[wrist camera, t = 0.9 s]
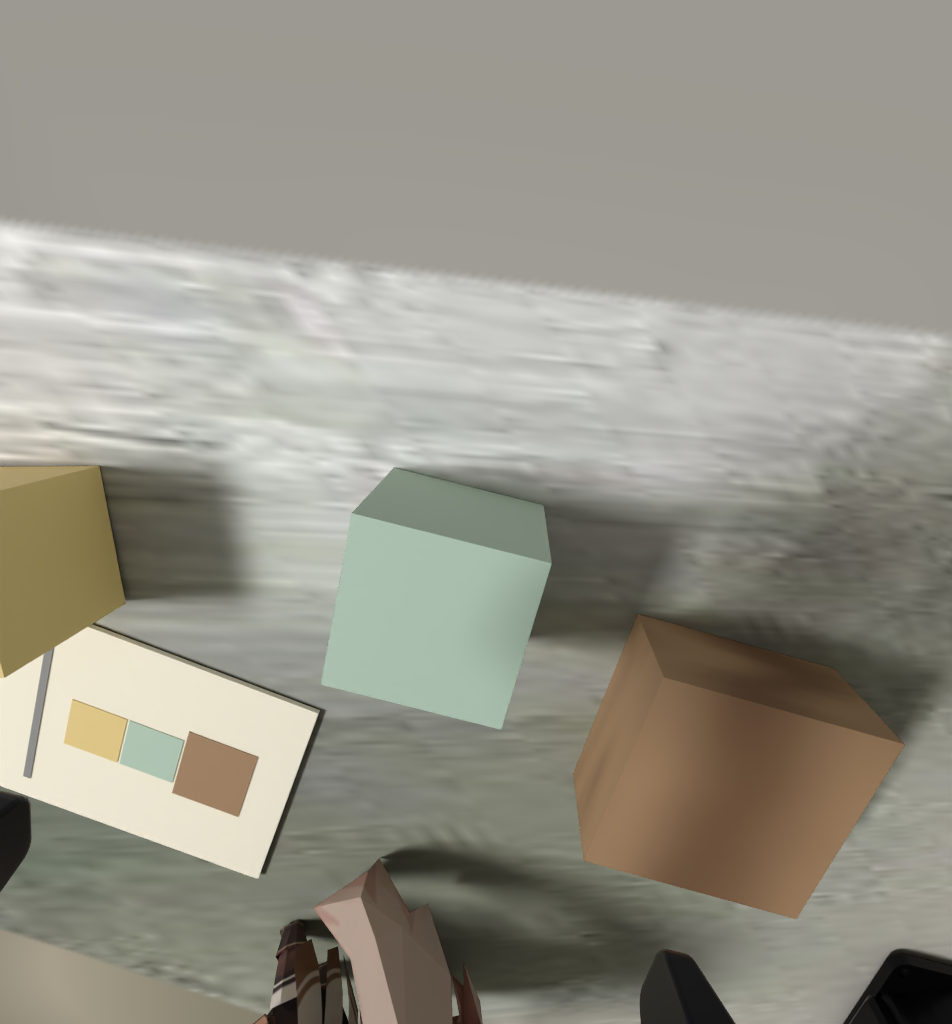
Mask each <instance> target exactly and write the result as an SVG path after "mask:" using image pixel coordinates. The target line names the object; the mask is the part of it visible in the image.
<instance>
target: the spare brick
mask: <svg viewBox="0 0 952 1024" xmlns="http://www.w3.org/2000/svg"><path fill="white" fill-rule="evenodd" d="M124 604H126V603H125V598H124V592H123V587H122V582H121V577H120V571H119V566H118V561H117V556H116V551H115V545H114V540H113V535H112V530H111V524H110V519H109V514H108V509H107V503H106V498H105V493H104V488H103V482H102V477H101V472H100V467H99V466H13V467H0V678H5V677H7V676H9V675H10V674H12V673H13V672H15V671H17V670H18V669H20V668H22V667H23V666H25V665H26V664H28V663H30V662H31V661H33V660H35V659H36V658H38V657H39V656H41V655H43V654H44V653H46V652H48V651H49V650H51V649H52V648H54V647H56V646H57V645H59V644H61V643H62V642H64V641H65V640H67V639H69V638H70V637H72V636H74V635H75V634H77V633H78V632H80V631H82V630H83V629H85V628H87V627H88V626H90V625H91V624H93V623H95V622H96V621H98V620H100V619H101V618H103V617H104V616H106V615H108V614H109V613H111V612H113V611H114V610H116V609H117V608H119V607H121V606H122V605H124Z"/></svg>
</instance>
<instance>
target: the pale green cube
mask: <svg viewBox="0 0 952 1024" xmlns="http://www.w3.org/2000/svg"><path fill="white" fill-rule="evenodd" d="M551 565H552V561H551V554H550V547H549V540H548V533H547V526H546V519H545V512H544V505H540V504H537V503H533V502H529V501H525V500H521V499H517V498H513V497H509V496H505V495H501V494H497V493H493V492H489V491H485V490H481V489H477V488H473V487H469V486H465V485H461V484H457V483H453V482H449V481H445V480H441V479H437V478H433V477H429V476H426V475H422V474H418V473H414V472H410V471H406V470H402V469H398V468H393V469H392V470H391V471H390V473H389V474H388V475H387V476H386V477H385V478H384V479H383V480H382V481H381V482H380V483H379V484H378V485H377V487H376V488H375V489H374V490H373V491H372V492H371V493H370V494H369V495H368V496H367V497H366V498H365V499H364V501H363V502H362V503H361V504H360V505H359V506H358V507H357V508H356V509H355V510H354V511H353V512H352V515H351V520H350V526H349V531H348V537H347V542H346V548H345V553H344V559H343V564H342V570H341V576H340V581H339V587H338V592H337V598H336V603H335V609H334V614H333V620H332V625H331V631H330V636H329V642H328V647H327V653H326V658H325V664H324V670H323V675H322V681H321V685H325V686H329V687H333V688H337V689H341V690H345V691H349V692H353V693H357V694H361V695H365V696H369V697H373V698H377V699H381V700H385V701H389V702H393V703H397V704H401V705H405V706H409V707H413V708H417V709H421V710H425V711H429V712H433V713H437V714H441V715H445V716H449V717H453V718H457V719H461V720H465V721H469V722H473V723H477V724H481V725H485V726H489V727H492V728H496V729H500V730H501V728H502V725H503V721H504V718H505V715H506V711H507V708H508V705H509V702H510V698H511V695H512V692H513V689H514V685H515V682H516V679H517V676H518V672H519V669H520V666H521V663H522V659H523V656H524V653H525V649H526V646H527V643H528V640H529V636H530V633H531V630H532V627H533V623H534V620H535V617H536V614H537V610H538V607H539V604H540V600H541V597H542V594H543V591H544V587H545V584H546V581H547V578H548V574H549V571H550V568H551Z"/></svg>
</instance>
